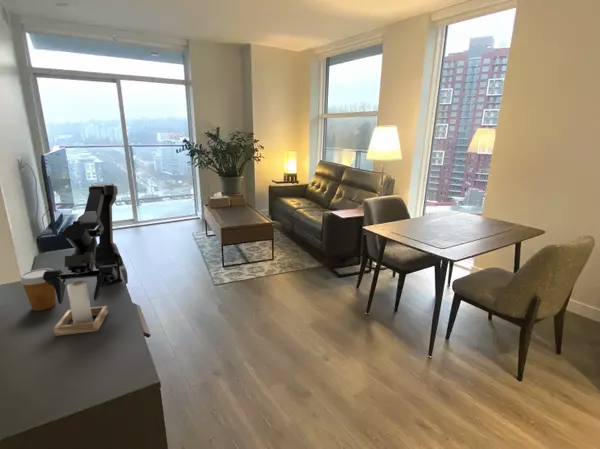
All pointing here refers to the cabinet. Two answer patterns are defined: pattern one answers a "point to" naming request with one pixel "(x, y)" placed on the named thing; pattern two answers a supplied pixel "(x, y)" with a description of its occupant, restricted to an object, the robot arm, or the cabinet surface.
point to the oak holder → (82, 327)
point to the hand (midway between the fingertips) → (77, 301)
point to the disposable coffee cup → (38, 290)
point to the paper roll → (79, 302)
